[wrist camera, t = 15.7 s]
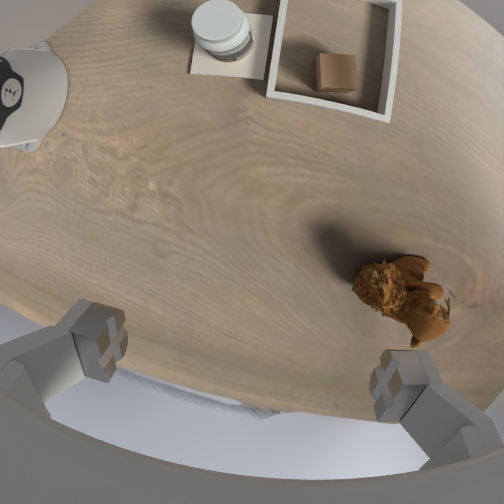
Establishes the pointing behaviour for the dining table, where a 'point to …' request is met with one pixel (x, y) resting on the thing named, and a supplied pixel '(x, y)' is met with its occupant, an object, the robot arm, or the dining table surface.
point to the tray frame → (383, 115)
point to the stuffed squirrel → (405, 296)
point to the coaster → (243, 68)
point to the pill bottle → (222, 30)
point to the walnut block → (335, 73)
